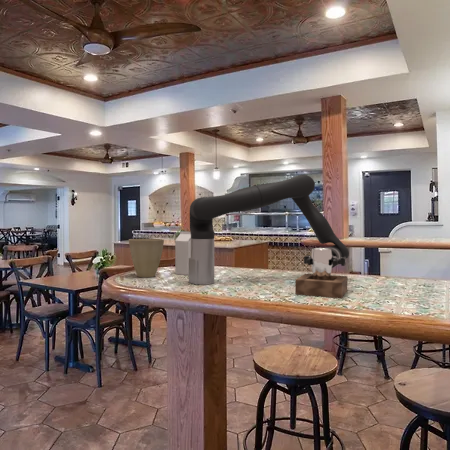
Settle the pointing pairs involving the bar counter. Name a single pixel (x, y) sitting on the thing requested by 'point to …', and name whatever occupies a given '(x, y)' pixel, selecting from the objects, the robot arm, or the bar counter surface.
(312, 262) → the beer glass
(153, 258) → the plant pot
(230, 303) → the bar counter surface
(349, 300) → the bar counter surface
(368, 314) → the bar counter surface
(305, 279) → the walnut well block
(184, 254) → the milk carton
